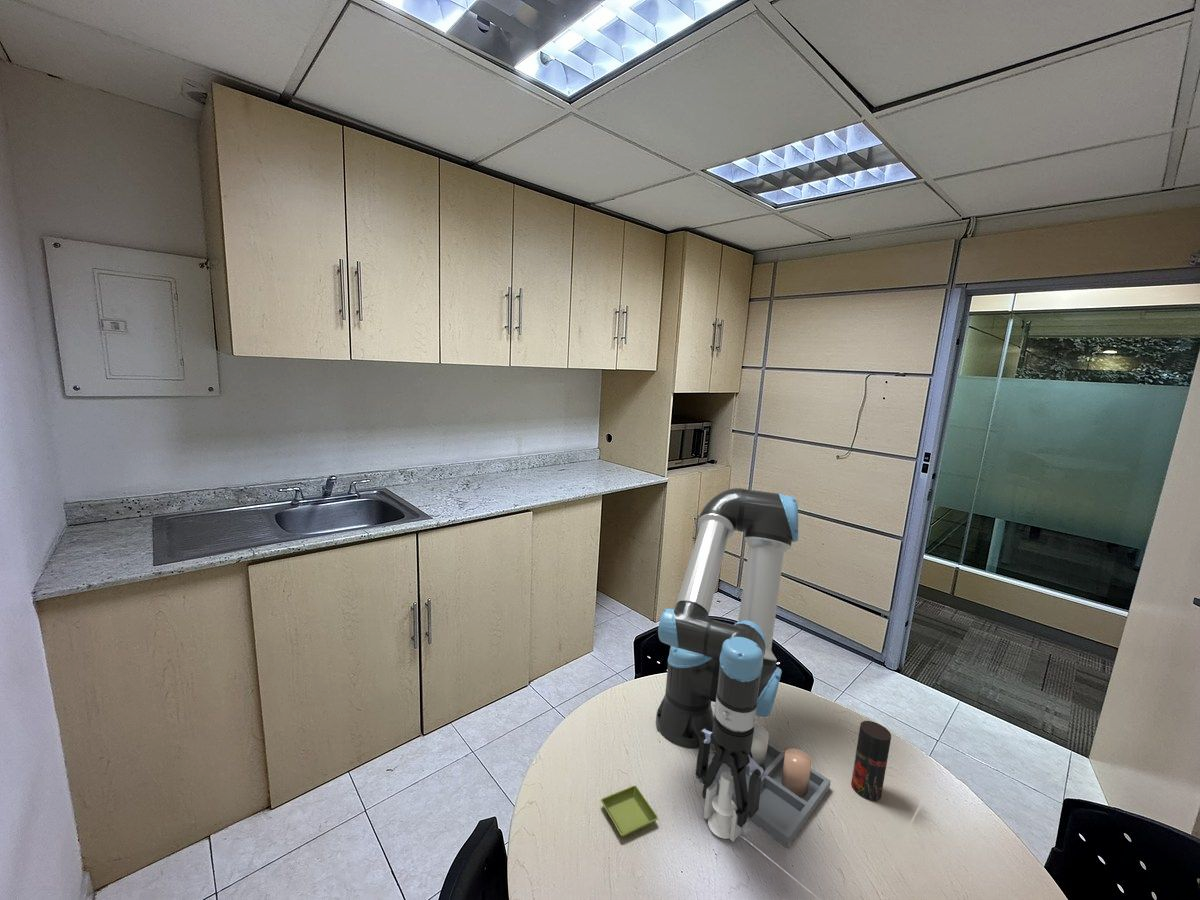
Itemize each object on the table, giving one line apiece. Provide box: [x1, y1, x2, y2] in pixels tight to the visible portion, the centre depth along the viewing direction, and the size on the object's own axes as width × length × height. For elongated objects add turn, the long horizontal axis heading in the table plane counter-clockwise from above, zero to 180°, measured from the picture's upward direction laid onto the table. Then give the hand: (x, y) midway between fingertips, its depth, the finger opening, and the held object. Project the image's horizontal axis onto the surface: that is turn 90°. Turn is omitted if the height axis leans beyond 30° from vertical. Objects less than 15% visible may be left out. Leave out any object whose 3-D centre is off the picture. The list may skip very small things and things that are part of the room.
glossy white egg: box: [751, 723, 770, 765], centre depth 111 cm, size 6×6×7 cm
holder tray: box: [695, 741, 832, 848], centre depth 105 cm, size 21×21×2 cm
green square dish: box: [600, 785, 659, 837], centre depth 95 cm, size 9×9×2 cm
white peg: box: [707, 771, 736, 840], centre depth 93 cm, size 5×5×12 cm
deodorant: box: [850, 720, 892, 802], centre depth 104 cm, size 6×6×15 cm
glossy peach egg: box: [781, 747, 813, 797], centre depth 104 cm, size 6×6×7 cm
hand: (721, 824), depth 93 cm, fingers closed on white peg, 5 cm apart
